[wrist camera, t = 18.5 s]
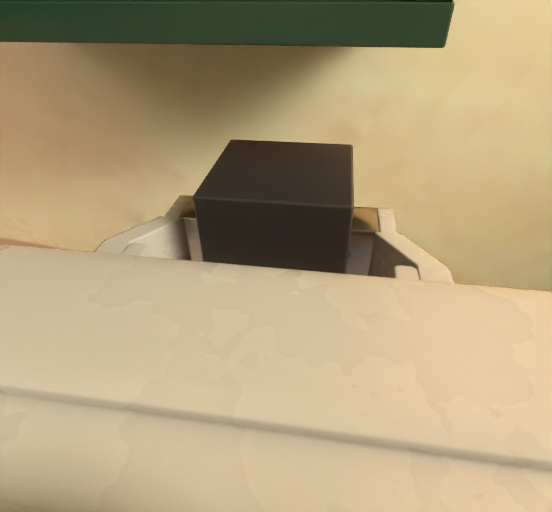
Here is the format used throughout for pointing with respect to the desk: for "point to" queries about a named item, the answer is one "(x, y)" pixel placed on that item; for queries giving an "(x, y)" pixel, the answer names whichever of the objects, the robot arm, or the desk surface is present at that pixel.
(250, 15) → the tea tin
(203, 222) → the block
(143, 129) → the desk surface
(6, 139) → the desk surface
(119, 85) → the desk surface
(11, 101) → the desk surface
